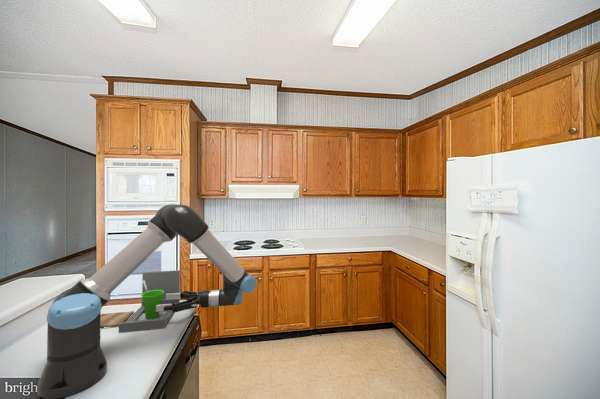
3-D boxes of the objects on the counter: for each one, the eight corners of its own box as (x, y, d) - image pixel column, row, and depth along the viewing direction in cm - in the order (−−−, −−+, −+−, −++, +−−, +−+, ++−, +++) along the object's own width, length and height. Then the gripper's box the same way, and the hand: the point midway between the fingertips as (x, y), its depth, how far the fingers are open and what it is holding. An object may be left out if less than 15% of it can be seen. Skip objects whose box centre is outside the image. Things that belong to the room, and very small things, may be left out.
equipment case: (179, 304, 128) (180, 270, 129) (164, 328, 104) (165, 285, 104) (143, 307, 125) (143, 272, 125) (118, 332, 100) (119, 288, 100)
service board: (133, 313, 118) (134, 311, 118) (120, 326, 105) (120, 324, 105) (102, 316, 115) (102, 313, 115) (84, 330, 102) (84, 327, 102)
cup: (156, 322, 109) (156, 296, 109) (136, 321, 109) (136, 296, 109) (167, 313, 118) (168, 289, 118) (148, 312, 118) (149, 289, 118)
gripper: (205, 318, 107) (151, 323, 103) (212, 297, 132) (169, 300, 127) (206, 300, 108) (151, 304, 103) (213, 282, 132) (169, 285, 127)
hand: (161, 302), depth 115 cm, fingers open, 13 cm apart
